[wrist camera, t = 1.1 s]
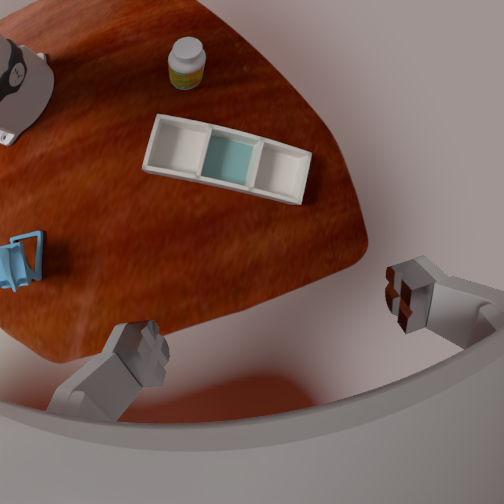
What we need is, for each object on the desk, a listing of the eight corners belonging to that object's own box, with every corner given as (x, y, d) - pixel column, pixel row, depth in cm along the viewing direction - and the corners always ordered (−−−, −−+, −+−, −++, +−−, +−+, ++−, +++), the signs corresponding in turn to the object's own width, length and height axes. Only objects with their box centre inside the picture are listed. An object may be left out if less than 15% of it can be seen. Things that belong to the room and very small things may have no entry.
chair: (21, 282, 35) (-15, 304, 24) (12, 237, 33) (-28, 248, 22) (51, 278, 37) (17, 301, 25) (42, 229, 35) (3, 240, 24)
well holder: (146, 172, 38) (141, 169, 34) (159, 122, 37) (157, 113, 33) (290, 204, 44) (301, 204, 40) (300, 157, 43) (311, 153, 39)
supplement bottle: (168, 91, 36) (165, 63, 27) (170, 64, 35) (168, 33, 26) (202, 90, 38) (207, 62, 28) (202, 63, 37) (208, 33, 27)
